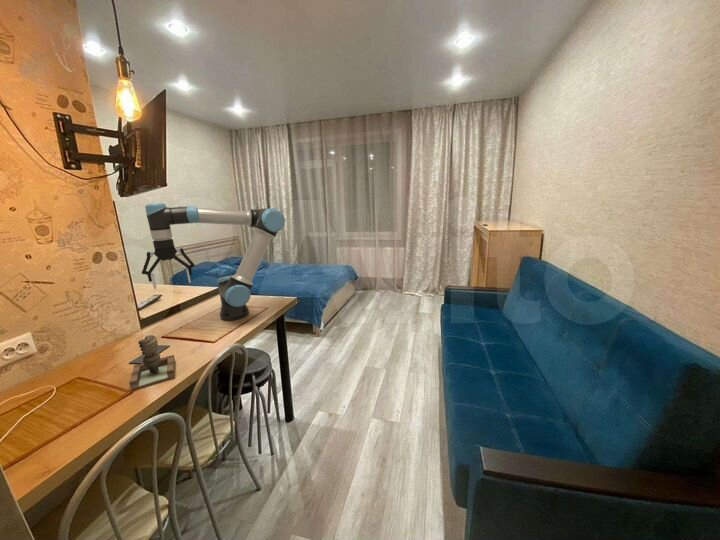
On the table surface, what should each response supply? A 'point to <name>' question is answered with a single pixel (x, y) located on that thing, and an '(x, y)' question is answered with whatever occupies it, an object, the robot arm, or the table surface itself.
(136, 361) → the smartphone
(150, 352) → the stone figurine
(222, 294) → the robot arm
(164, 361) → the brown picture frame
